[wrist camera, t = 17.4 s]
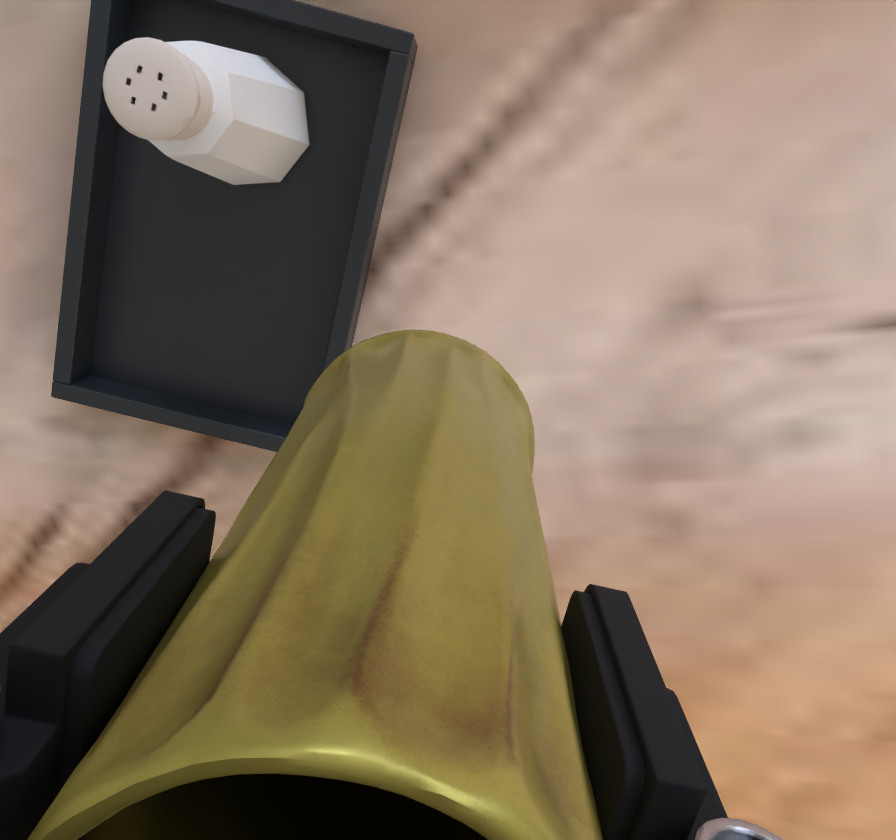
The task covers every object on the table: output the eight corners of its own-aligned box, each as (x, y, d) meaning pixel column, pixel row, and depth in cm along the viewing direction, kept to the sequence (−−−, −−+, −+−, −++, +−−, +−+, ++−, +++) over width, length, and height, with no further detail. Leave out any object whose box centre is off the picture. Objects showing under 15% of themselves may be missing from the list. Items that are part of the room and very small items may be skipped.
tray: (124, -36, 31) (96, -55, 29) (417, 45, 32) (414, 33, 29) (77, 383, 37) (50, 397, 34) (329, 445, 37) (320, 463, 35)
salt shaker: (175, 163, 33) (39, 149, 22) (204, 34, 31) (73, -46, 21) (293, 205, 33) (213, 211, 23) (328, 80, 32) (260, 24, 21)
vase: (311, 553, 21) (3, 1269, 7) (288, 332, 19) (-187, 702, 5) (534, 547, 20) (678, 1274, 7) (532, 323, 19) (721, 682, 5)
